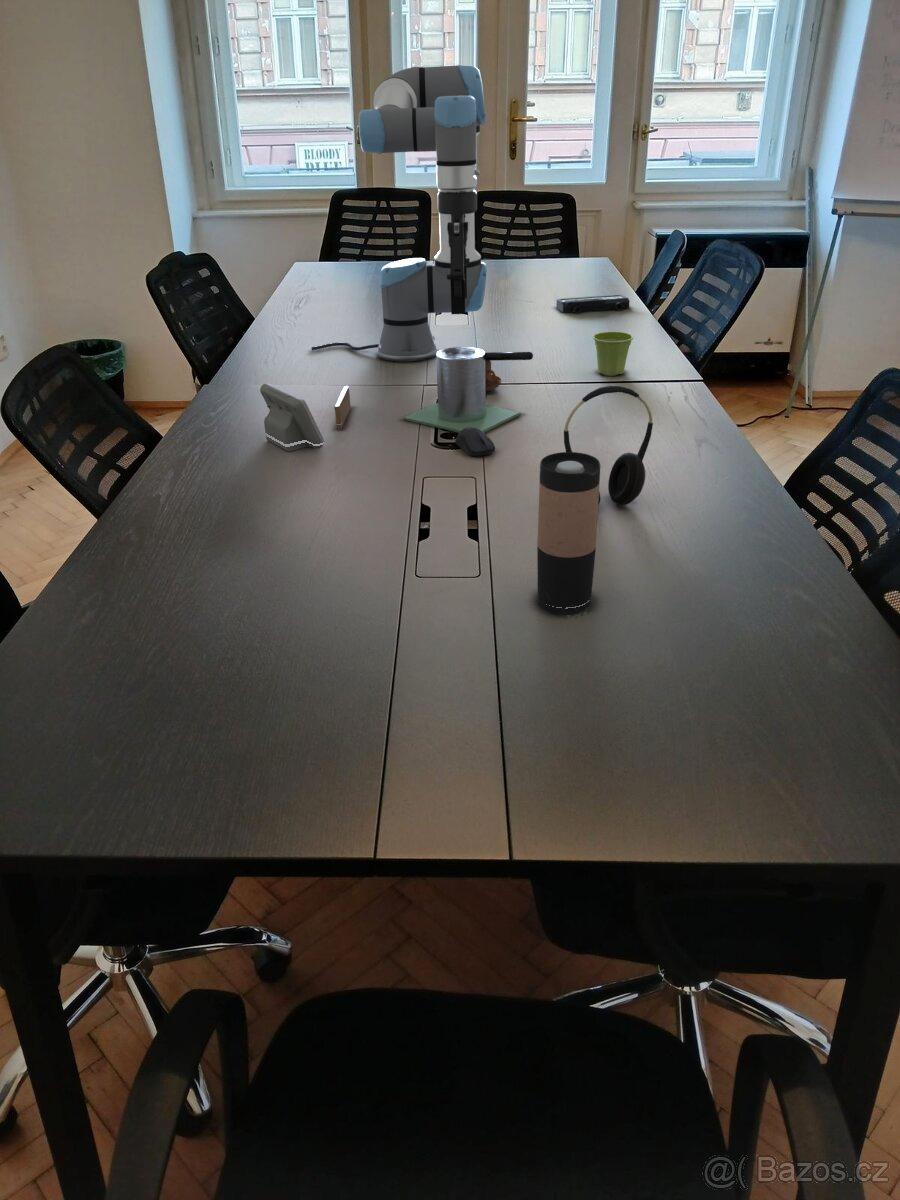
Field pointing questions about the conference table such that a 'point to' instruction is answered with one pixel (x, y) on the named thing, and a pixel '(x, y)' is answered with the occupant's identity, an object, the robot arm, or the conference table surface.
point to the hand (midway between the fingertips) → (459, 306)
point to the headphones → (629, 466)
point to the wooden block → (342, 407)
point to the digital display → (592, 303)
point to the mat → (485, 424)
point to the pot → (466, 381)
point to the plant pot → (612, 351)
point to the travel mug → (567, 530)
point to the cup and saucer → (490, 378)
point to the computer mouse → (474, 442)
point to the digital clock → (289, 419)
